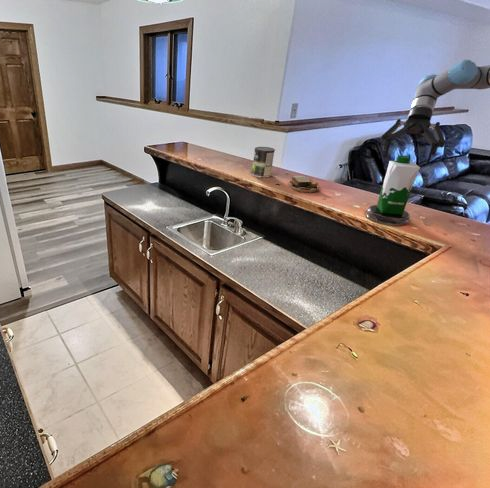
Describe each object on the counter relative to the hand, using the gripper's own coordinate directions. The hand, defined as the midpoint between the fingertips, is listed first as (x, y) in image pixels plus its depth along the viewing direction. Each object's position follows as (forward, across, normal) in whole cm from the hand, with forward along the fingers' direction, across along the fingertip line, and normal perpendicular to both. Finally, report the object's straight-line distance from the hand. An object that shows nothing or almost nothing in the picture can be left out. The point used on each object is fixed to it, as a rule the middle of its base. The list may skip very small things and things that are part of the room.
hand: (406, 158), depth 130 cm
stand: (+21, 0, -11) cm, 23 cm away
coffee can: (-1, +62, -33) cm, 70 cm away
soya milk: (+18, 0, -8) cm, 20 cm away
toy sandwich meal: (+7, +37, -25) cm, 45 cm away
